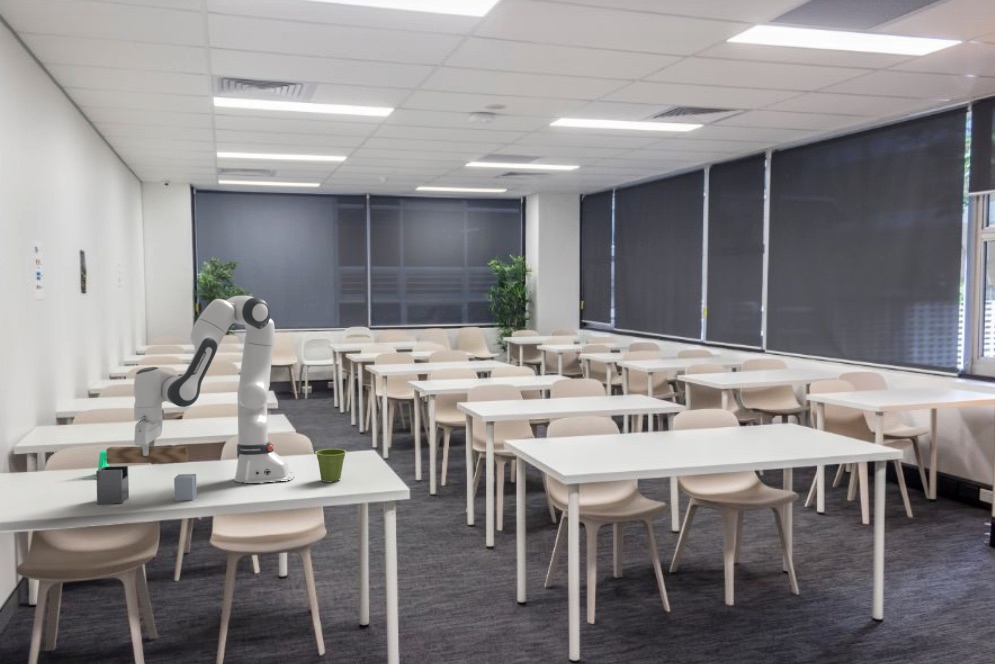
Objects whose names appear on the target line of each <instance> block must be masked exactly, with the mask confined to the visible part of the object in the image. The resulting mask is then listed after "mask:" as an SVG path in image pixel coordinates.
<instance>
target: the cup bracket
mask: <svg viewBox="0 0 995 664" xmlns="http://www.w3.org/2000/svg"><path fill="white" fill-rule="evenodd" d="M95 477H96V505H97V504H98V505H115V503H116V505H118V504H117V503H122V504H123V503H124V501H125V500H126V501H127V500H128V499H129V498H130V495H129V493H130V491H129V484H130V483H129V465H109V466H104V467H102V468H101V469H99V470H98V469H97V470H96V476H95ZM126 501H125V502H126Z"/></svg>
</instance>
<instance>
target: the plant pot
mask: <svg viewBox="0 0 995 664" xmlns="http://www.w3.org/2000/svg"><path fill="white" fill-rule="evenodd" d="M314 453H315V454H316V459H317V461H318V468H319V474H320V481H321V480H324V481H334V482H336V481H335V480H339V479H340V480H341V478H342V477H341V476H342V470H343V464H344V460H345V457H346V454H347V451H346V450H344V449H341V448H328V449H319V450H316V451H315V452H314ZM340 480H339V481H340ZM324 481H323V482H324Z"/></svg>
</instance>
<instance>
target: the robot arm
mask: <svg viewBox="0 0 995 664" xmlns="http://www.w3.org/2000/svg"><path fill="white" fill-rule="evenodd" d="M233 324H237V325H240V326H241V325H242V326H244V328H245V335H244V336H245V337H244V343H243V350H242V358H241V366H240V375H239V377H240V378H239V383H238V387H237V390H236V391H237V394H236V395H237V440H238V441H237V442H238V443H237V445H236V456H237V457H236V458H237V464H236V465H237V466H236V472H235V476H234V482H238V483H242V482H245V483H244V484H246V483H260V484H262V483H261V482H270V481H281V480H289V479H291V478H293V477H294V478H295V473H294V472H293V471H290V469H289V464H288V462H287V460H286V459H285V458H283V457H282V456H280V455H279V454H277V453H276V452H275V451H274V443H271V442H270V441H269V437H268V436H269V425H268V423H269V420H268V398H269V392H270V391H269V390H270V380H271V371H272V361H273V355H274V348H275V337H276V336H275V335H276V334H275V333H276V332H275V330H276V329H275V322H274V320H273V319H272V318H271V311H270V306H269V305H268V303H267V302H266V301H265V300H264V299H262V298H260V297H257V296H256V297H255V296H251V295H237V294H235V295H231V296H228V297H226V298H224V299H222V298H215V299H213V300H212V301H210V303H209V304H208V305H207V307H205V309H204V310H202V312H201V314H200V315H199V316H198V318H197V320H196V321H195V323H194V325H193V326H192V329H191V332H190V334H189V335H190V340H191V343H192V344H193V347H194V354H193V357H192V358H191V360H190V362H189V364H188V366H187V368H186V370H185V372H184V373H183V374H182V375H181V376H179V375H175V374H171V373H168V372H165V371H164V370H162V369H160V368H159V367H157V366H152V367H144V368H141V369H139V370H138V371H136V373H135V376H134V381H133V382H134V383H133V395H134V403H133V420H134V421H137V422H136V423H135V426H134V442H133V443H134V445H135V446H140V447H142V450H143V455H144V456H148V455H149V454H150V453H149V452H150V450H149V446H156V444H155V443H156V439H157V438H160V437H161V436H162V432H163V431H162V430H163V419H164V418H163V417H164V416H165V410H164V409H163V403H164V402H166V403H170V404H173V405H175V406H178V407H180V408H186V407H190V406H191V405H194V404H195V402H196V401H197V400H198V398H199V396H200V393H201V386H202V382H203V380H204V378H205V376H206V374H207V372H208V370H209V368H210V366H211V364H212V362H213V360H214V358H215V356H216V353H217V351H218V348H219V346H220V345H221V342H222V341H223V339H224V337H225V336H226V334H227V333H228V330H229V328H230V327H231V326H232V325H233ZM294 478H293V479H294Z"/></svg>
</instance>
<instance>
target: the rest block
mask: <svg viewBox="0 0 995 664" xmlns="http://www.w3.org/2000/svg"><path fill="white" fill-rule="evenodd" d="M173 485H174V486H173V487H174V488H173V489H174V491H173V492H174V502H182V501H181V500H192V501H194V500H195V499H196V497H197V496H198V495H197V494H198V493H197V474H196V473H187V474H186V473H184V474H183V473H182V474H177V475H176V476H175V477H174V478H173ZM193 499H194V500H193Z"/></svg>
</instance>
